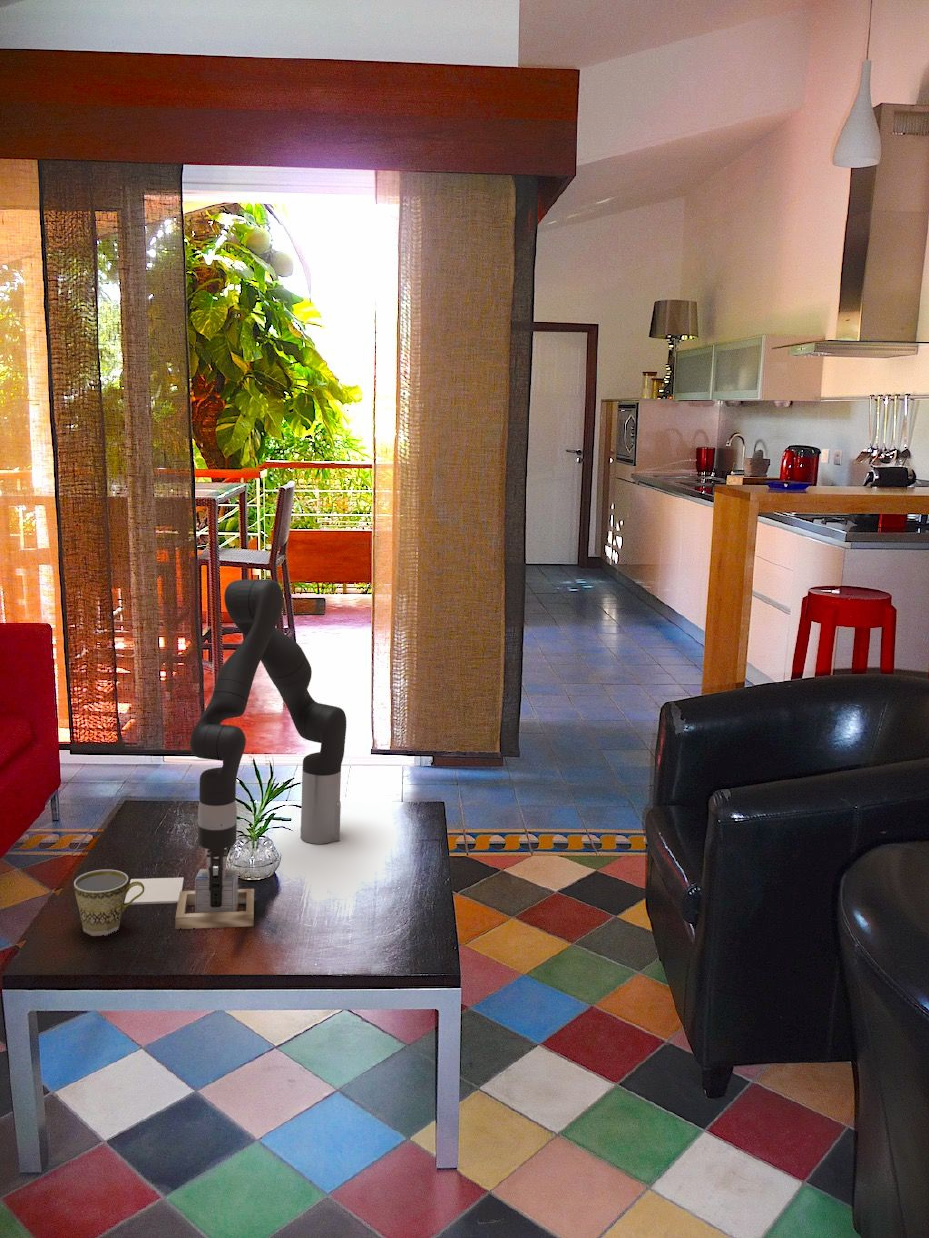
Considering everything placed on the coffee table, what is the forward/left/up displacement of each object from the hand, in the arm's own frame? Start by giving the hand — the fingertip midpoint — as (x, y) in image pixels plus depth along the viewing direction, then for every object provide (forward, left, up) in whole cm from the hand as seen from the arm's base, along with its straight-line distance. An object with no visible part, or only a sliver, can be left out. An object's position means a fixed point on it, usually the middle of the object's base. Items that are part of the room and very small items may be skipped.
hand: (216, 899), depth 206 cm
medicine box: (0, 0, -3) cm, 3 cm away
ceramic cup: (+20, +4, -3) cm, 21 cm away
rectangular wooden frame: (0, 0, -3) cm, 3 cm away
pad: (+13, -11, -3) cm, 17 cm away
